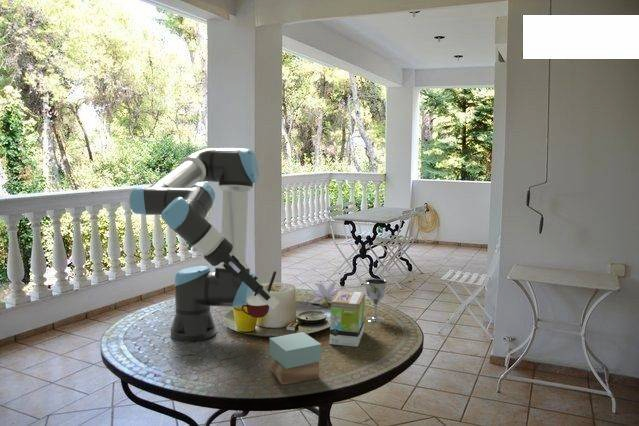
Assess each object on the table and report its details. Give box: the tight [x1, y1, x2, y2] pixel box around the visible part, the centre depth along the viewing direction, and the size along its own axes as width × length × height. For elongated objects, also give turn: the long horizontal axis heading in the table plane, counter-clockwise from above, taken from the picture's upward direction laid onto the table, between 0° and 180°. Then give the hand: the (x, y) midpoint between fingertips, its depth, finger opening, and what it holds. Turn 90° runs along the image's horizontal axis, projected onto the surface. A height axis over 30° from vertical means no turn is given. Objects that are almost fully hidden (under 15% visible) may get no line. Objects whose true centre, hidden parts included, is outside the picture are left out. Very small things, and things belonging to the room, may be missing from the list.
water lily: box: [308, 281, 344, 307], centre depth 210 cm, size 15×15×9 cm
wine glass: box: [365, 278, 388, 324], centre depth 193 cm, size 8×8×15 cm
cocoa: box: [241, 270, 277, 319], centre depth 139 cm, size 10×6×12 cm, turn 87°
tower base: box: [269, 355, 320, 385], centre depth 146 cm, size 11×11×5 cm
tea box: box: [329, 290, 366, 348], centre depth 173 cm, size 15×10×15 cm
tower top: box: [269, 331, 322, 369], centre depth 145 cm, size 11×11×5 cm
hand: (272, 302), depth 141 cm, fingers closed on cocoa, 6 cm apart
